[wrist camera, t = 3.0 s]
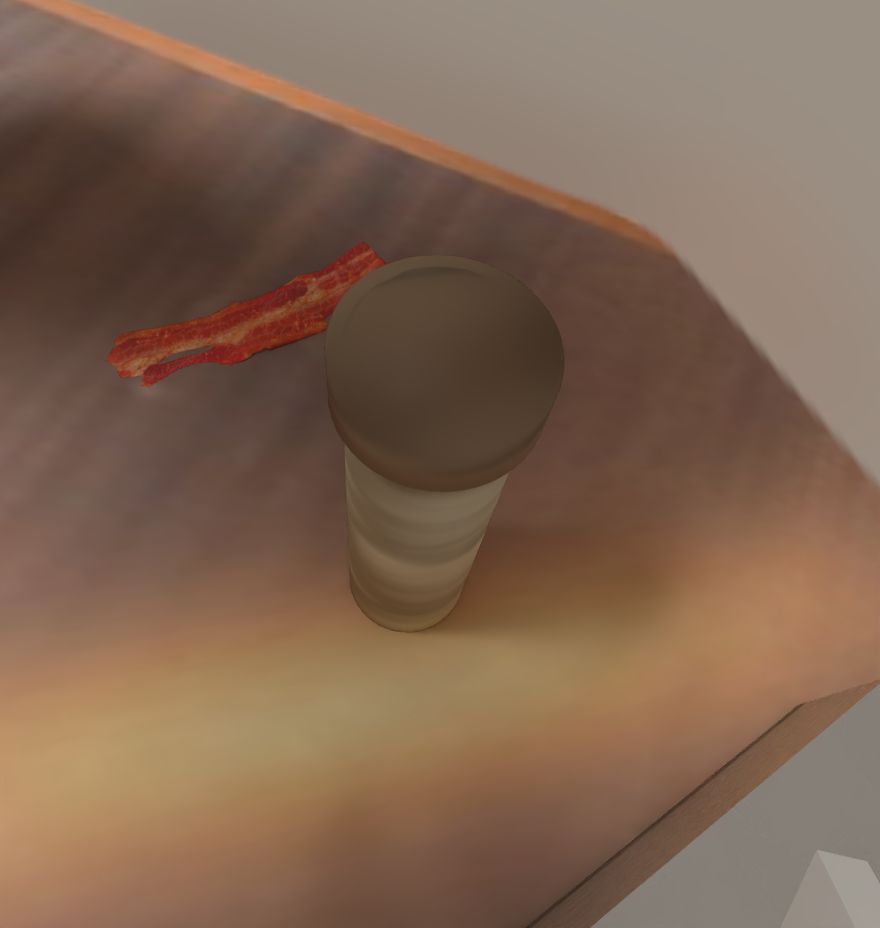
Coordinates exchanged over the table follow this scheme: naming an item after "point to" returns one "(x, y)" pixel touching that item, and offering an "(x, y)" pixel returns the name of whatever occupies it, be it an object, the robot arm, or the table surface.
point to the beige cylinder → (433, 421)
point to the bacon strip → (245, 322)
